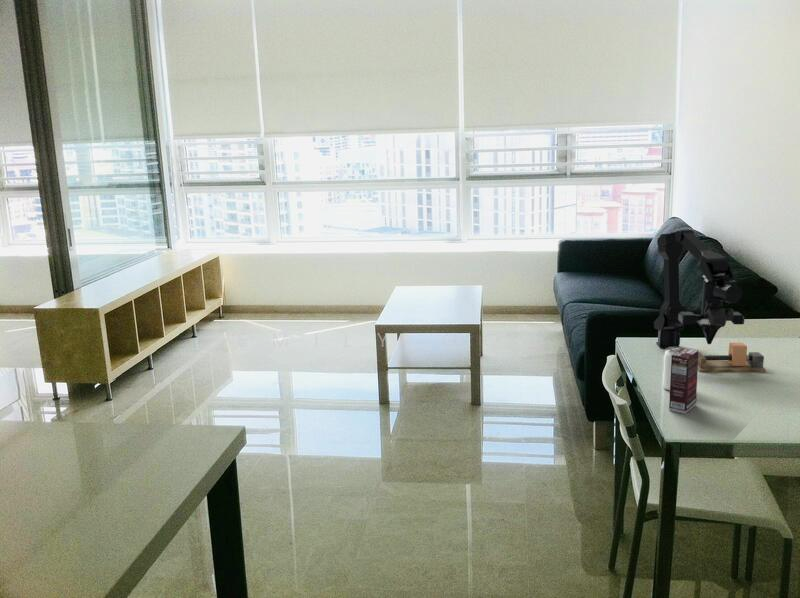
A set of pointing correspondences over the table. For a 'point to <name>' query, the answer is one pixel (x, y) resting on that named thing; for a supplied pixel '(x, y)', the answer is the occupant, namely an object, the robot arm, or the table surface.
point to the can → (668, 366)
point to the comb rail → (752, 364)
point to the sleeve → (737, 354)
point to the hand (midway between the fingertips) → (708, 344)
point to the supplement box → (683, 380)
